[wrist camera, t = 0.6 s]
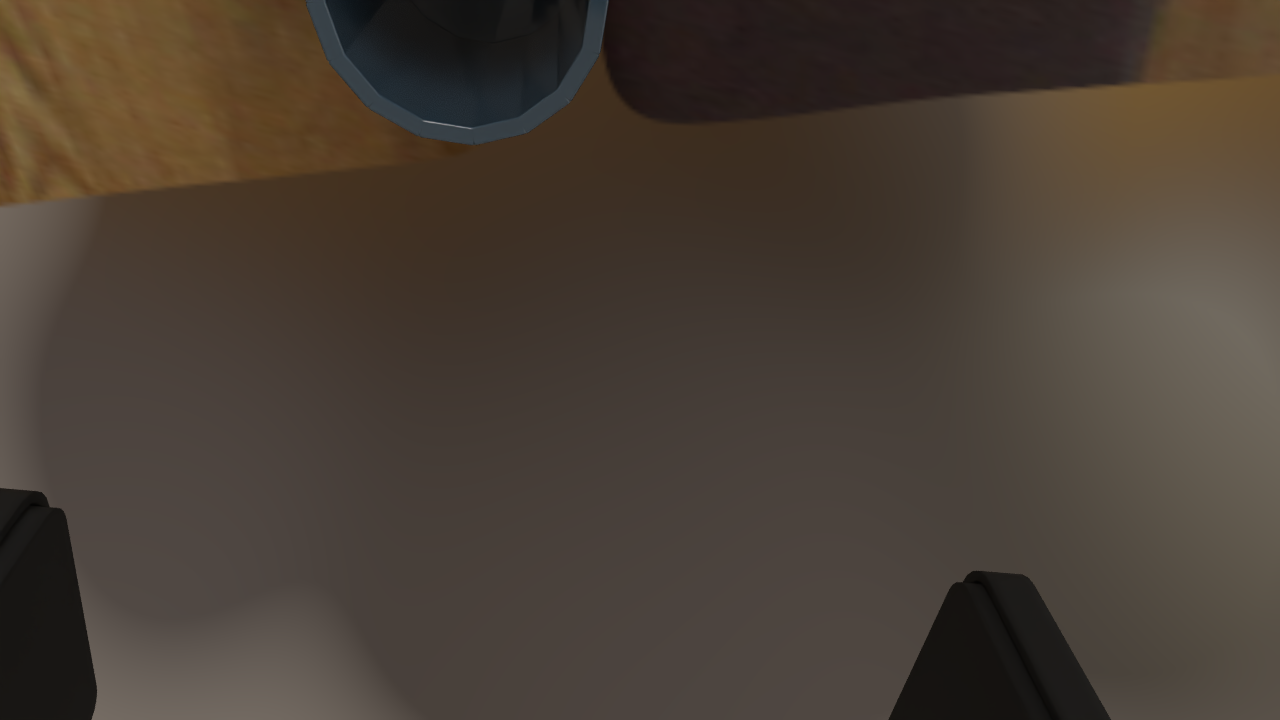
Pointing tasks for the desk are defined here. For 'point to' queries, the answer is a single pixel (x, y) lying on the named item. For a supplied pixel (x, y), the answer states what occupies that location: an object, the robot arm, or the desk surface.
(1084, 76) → the desk surface
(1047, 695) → the robot arm
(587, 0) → the pen cup
